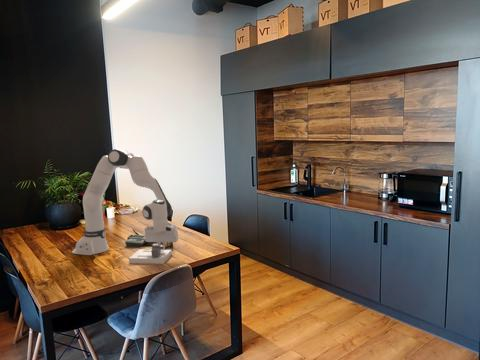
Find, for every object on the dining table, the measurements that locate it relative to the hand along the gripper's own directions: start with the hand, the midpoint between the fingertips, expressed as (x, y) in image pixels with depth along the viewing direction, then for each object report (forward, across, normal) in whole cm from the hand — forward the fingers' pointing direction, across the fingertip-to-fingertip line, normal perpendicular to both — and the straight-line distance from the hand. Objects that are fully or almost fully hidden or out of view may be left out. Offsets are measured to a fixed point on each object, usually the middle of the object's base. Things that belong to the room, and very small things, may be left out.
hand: (162, 248), depth 226 cm
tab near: (+2, -1, -8) cm, 8 cm away
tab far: (+2, -4, 0) cm, 4 cm away
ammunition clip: (+5, -4, +15) cm, 16 cm away
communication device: (+6, -21, +22) cm, 31 cm away
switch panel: (+5, -6, -4) cm, 9 cm away
